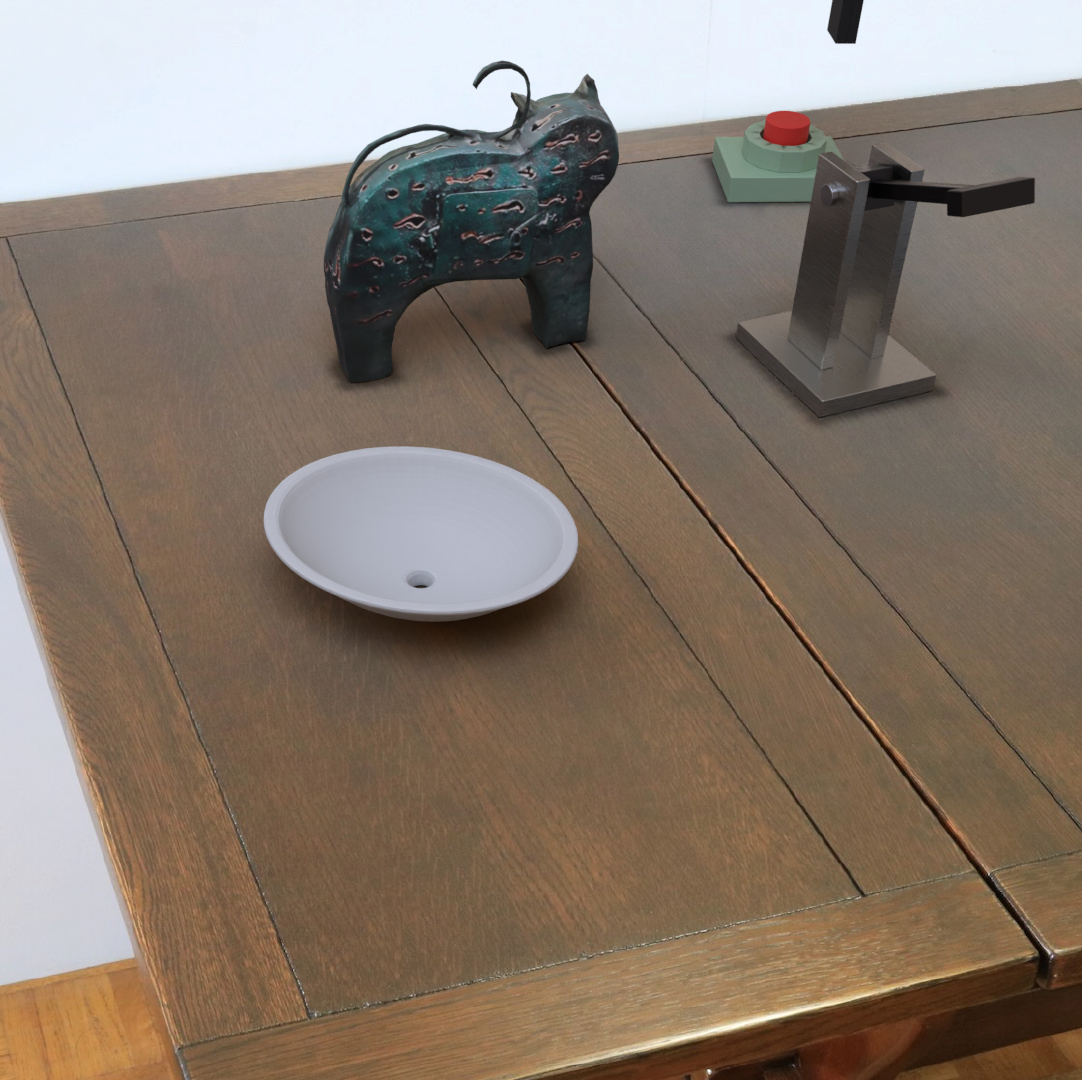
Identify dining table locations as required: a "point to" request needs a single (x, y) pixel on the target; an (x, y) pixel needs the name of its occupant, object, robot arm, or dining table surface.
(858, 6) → the robot arm
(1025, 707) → the dining table surface
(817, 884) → the dining table surface
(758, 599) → the dining table surface
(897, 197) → the lever
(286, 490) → the white oval sink basin
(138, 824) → the dining table surface
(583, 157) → the ceramic cat
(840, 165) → the bracket
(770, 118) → the button
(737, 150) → the button box
